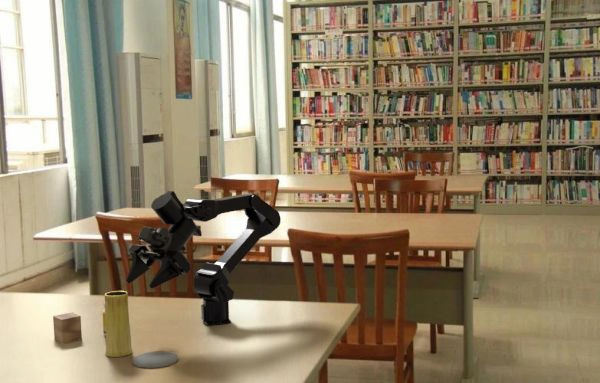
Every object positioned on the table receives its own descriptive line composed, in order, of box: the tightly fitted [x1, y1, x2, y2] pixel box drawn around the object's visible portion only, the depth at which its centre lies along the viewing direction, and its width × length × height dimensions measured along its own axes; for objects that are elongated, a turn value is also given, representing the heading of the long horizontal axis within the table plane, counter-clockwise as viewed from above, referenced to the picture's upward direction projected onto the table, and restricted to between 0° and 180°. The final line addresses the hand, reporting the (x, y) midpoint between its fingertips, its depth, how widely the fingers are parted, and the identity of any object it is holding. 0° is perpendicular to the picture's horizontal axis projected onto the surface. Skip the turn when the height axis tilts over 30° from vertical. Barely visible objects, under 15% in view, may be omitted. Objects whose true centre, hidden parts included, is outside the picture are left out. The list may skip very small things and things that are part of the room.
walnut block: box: [52, 312, 83, 344], centre depth 186 cm, size 5×5×6 cm
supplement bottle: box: [102, 301, 106, 337], centre depth 190 cm, size 5×5×8 cm
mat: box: [132, 350, 179, 369], centre depth 168 cm, size 10×10×1 cm
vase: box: [104, 290, 133, 358], centre depth 174 cm, size 6×6×14 cm
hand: (138, 284), depth 180 cm, fingers open, 9 cm apart
